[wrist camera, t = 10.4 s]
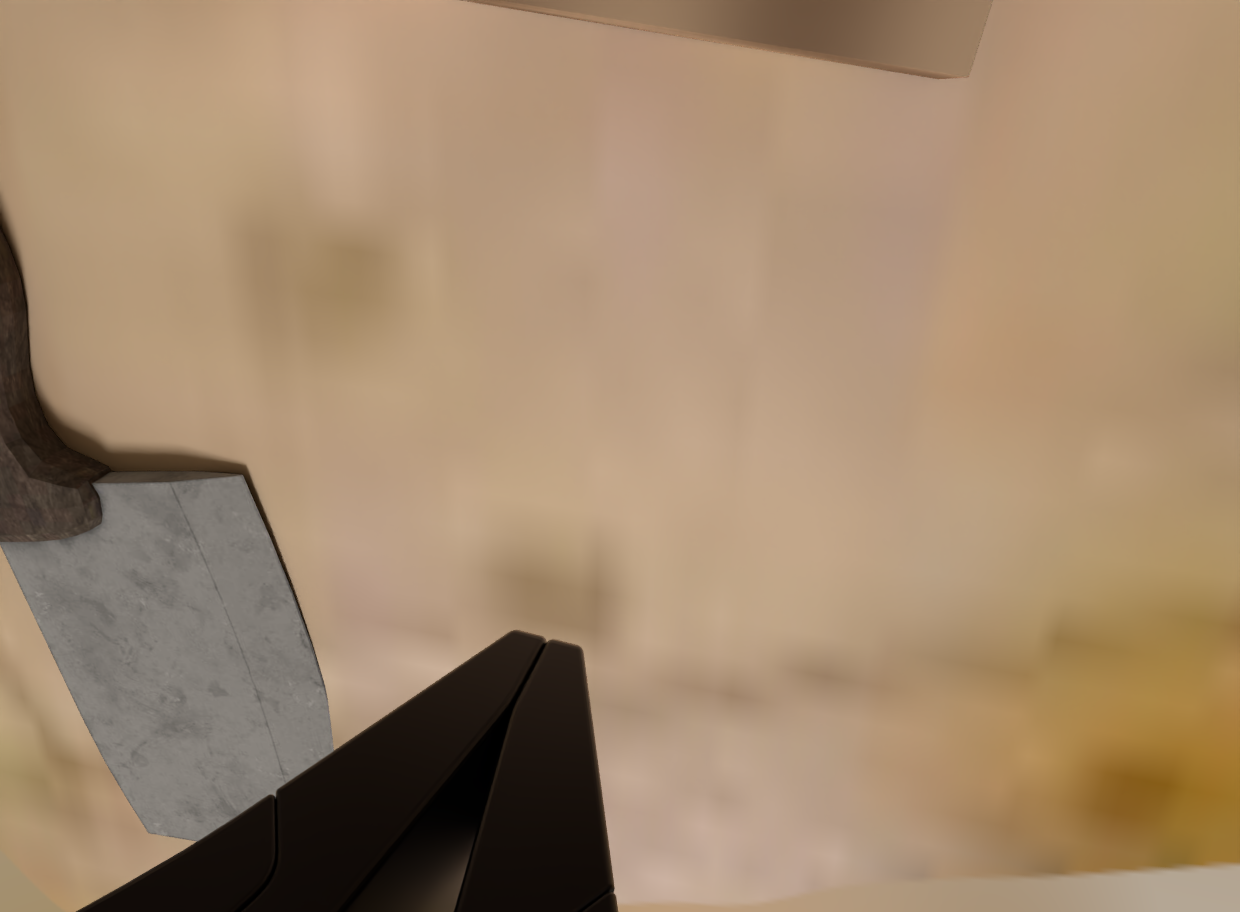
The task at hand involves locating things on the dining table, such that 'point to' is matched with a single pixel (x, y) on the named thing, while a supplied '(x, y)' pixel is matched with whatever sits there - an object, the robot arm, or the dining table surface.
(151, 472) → the cleaver
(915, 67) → the tan board
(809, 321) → the dining table surface
